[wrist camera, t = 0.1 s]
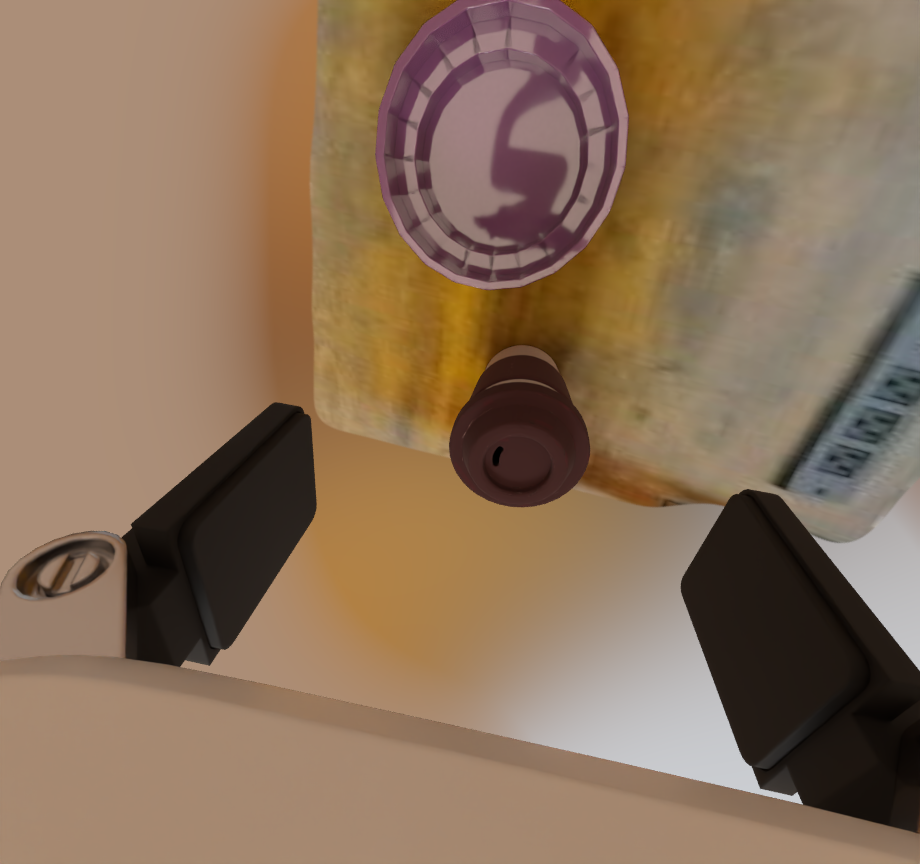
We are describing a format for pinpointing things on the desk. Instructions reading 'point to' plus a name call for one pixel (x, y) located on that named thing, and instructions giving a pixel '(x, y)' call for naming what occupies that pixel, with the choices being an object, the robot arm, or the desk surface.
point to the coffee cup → (520, 432)
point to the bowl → (502, 140)
